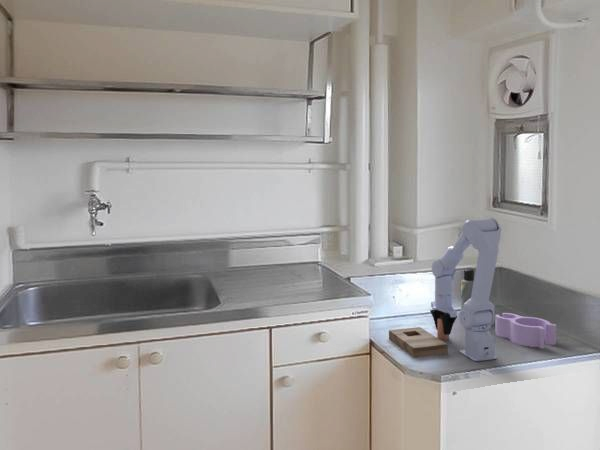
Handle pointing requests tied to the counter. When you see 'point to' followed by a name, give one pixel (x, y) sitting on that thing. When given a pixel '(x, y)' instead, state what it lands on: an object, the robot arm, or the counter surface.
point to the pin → (441, 330)
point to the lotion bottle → (467, 285)
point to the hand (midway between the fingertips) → (443, 331)
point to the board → (418, 342)
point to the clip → (525, 330)
